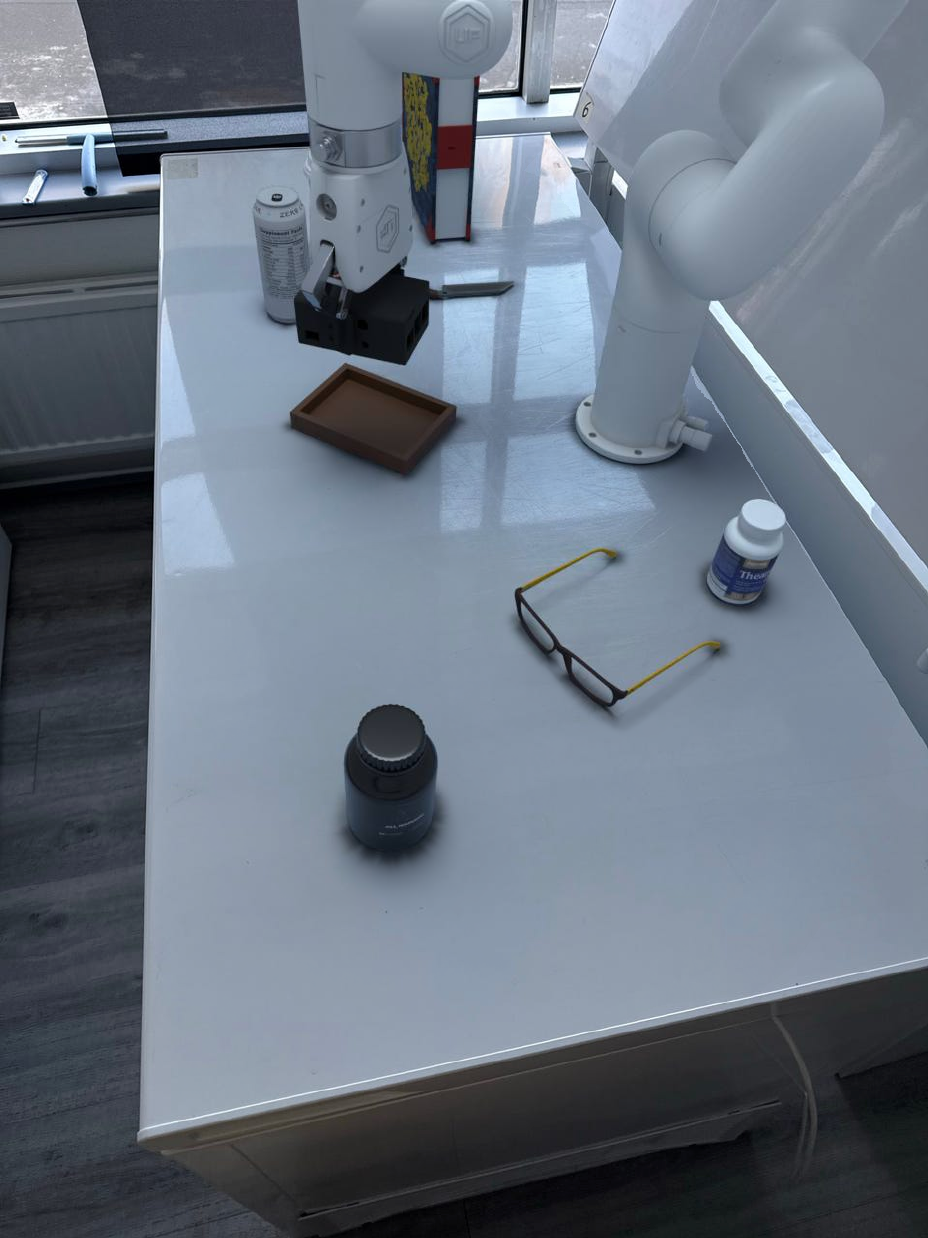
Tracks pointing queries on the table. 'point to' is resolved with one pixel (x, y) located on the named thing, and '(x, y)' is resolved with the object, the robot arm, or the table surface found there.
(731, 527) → the pill bottle
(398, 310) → the electronic device
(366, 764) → the supplement bottle
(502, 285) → the knife
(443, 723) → the table surface
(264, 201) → the energy drink can
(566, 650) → the eyeglasses
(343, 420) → the docking tray
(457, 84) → the book
